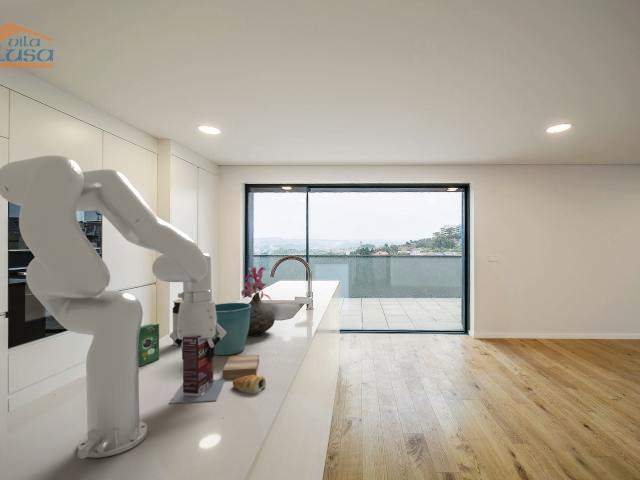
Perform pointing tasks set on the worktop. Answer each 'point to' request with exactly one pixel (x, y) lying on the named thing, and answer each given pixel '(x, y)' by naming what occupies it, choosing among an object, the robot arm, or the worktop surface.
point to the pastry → (250, 384)
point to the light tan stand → (241, 366)
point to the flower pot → (232, 327)
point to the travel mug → (176, 315)
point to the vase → (258, 305)
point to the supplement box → (196, 366)
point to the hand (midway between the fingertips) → (198, 360)
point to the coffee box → (148, 344)
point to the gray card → (206, 396)
